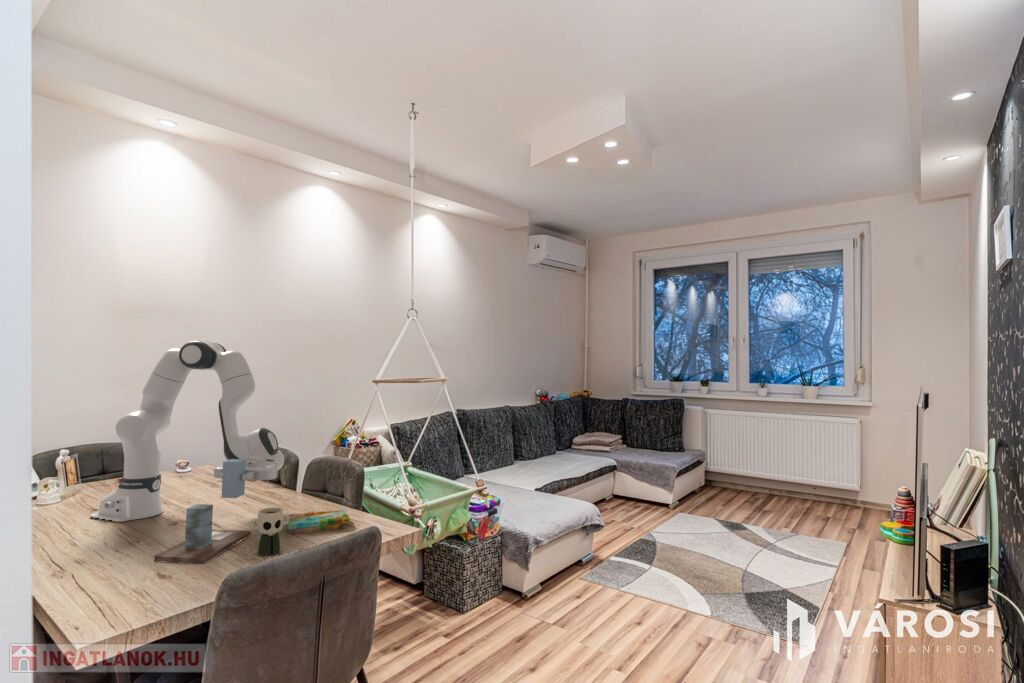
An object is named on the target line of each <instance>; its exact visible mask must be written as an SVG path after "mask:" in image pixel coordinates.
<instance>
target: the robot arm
mask: <svg viewBox="0 0 1024 683" xmlns="http://www.w3.org/2000/svg"><path fill="white" fill-rule="evenodd" d="M193 370H199V371H207V370H209V371H210V370H213V371H215V373H216V374H217V376H218V379H219V382H220V386H221V388H222V393H221V397H220V399H219V401H218V412H219V420H220V427H221V433H222V438H223V440H222V441H223V454H224V457H225V459H226V461H227V460H230V459H246V469H245V474H241V475H240V480H245V481H248V482H250V483H251V482H252V483H253V482H256V481H271V480H275V479H277V478H278V472H279V470H280V469H282V467H283V466H284V463H285V455H284V453H283V452H282V451H281V450H279V442H278V438H277V437H276V434H275V433H274V432H273V431H271V430H270V429H268V428H266V427H261V428H259V429H255V430H253V431H250V432H248V433H246V434H243V435H240V434H239V429H238V424H237V412H238V410H239V409H240V408H241V406H243V405H244V404H245V403H246V402H247V401H248V400H249V399H250V398H251V396H252V395H253V394H254V392H255V389H256V382H255V379H254V375H253V373H252V371H251V368H250V366H249V363H248V362H247V360H246V358H245V356H244V354H242V353H241V352H240V351H237V350H226V348H225V347H224V346H223V345H222V344H219V343H217V342H212V341H208V340H207V341H206V340H204V341H201V340H191V341H189V342H187V343H185V344H184V345H182V346H181V347H180V348H170V349H168V350H166V351H165V352H164V354H162V356H161V358H160V359H159V360H158V362H157V363H156V365H155V366H154V368H153V370H152V371H151V374H150V376H149V378H148V379H147V381H146V383H145V386H143V387H144V388H143V389H142V401H141V403H140V406H139V408H138V410H134V411H130V412H128V413H126V414H125V415H124V416H123V417H121V418H120V419H118V421H117V423H116V425H115V433H116V435H117V437H118V438H119V439H120V441H121V446H122V450H123V476H122V477H121V478H118V479H116V480H115V481H116V482H115V483H116V484H118V486H117V488H116V489H114V490H113V491H111V492H110V493H108V494H107V495H105V496H104V497H103V498H101V500H100V503H99V507H98V510H97V511H95V512H94V511H93V512H92V513H91V514H90V515H89V518H90V517H93V518H92V519H94V518H99V519H98V520H102V519H105V520H104V521H109V520H112V521H111V522H116V523H117V522H119V523H120V522H121V523H122V522H123V523H124V522H128V521H133V520H140V519H147V518H150V517H155V516H158V515H160V514H162V513H164V508H163V505H162V501H161V491H160V489H161V484H162V474H161V461H162V460H161V459H162V458H161V456H162V454H161V452H160V450H159V448H158V444H157V438H156V437H157V436H158V435H161V434H162V433H164V431H166V430H167V429H168V427H169V425H170V424H171V416H172V412H173V410H174V409H173V408H174V405H175V403H176V401H177V398H178V396H179V393H180V392H181V391H182V387H183V386H184V384H185V382H186V379H187V378H188V375H189V374H190V372H192V371H193ZM222 476H223V464H222V465H219V466H215V467H214V468H213V477H214V478H215V479H221V480H222Z"/></svg>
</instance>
